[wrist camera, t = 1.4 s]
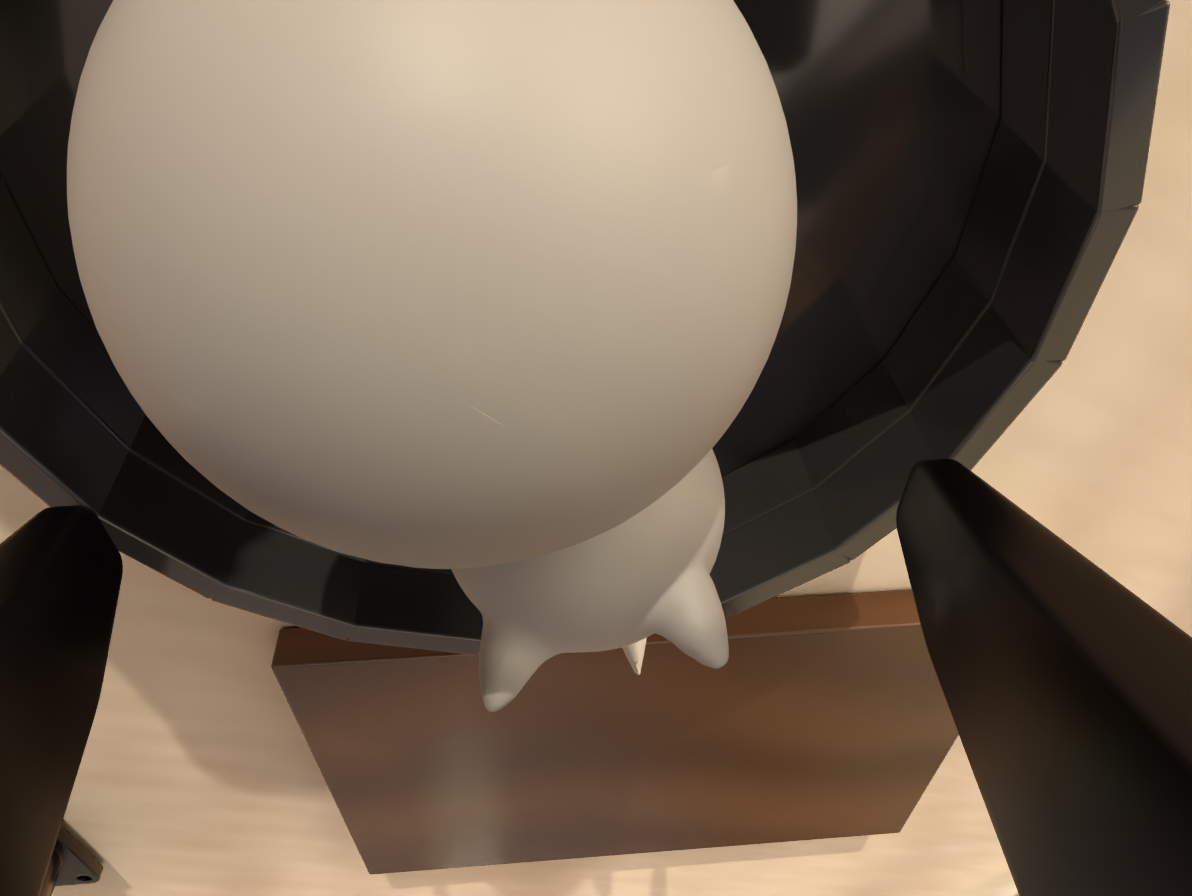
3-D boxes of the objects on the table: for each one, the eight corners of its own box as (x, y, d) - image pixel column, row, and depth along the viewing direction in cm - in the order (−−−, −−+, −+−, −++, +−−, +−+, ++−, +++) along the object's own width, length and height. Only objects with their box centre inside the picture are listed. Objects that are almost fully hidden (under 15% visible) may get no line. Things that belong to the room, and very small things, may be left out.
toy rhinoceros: (442, 486, 19) (412, 895, 13) (98, -144, 11) (-452, 155, 5) (763, 412, 18) (895, 810, 12) (658, -330, 10) (912, -276, 4)
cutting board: (889, 802, 33) (900, 833, 32) (372, 842, 32) (369, 875, 31) (1011, 582, 24) (1030, 617, 23) (278, 627, 22) (269, 667, 22)
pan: (886, 507, 21) (938, 626, 19) (172, 548, 20) (124, 679, 18) (1266, -570, 9) (1556, -649, 7) (-435, -603, 8) (-856, -710, 6)
